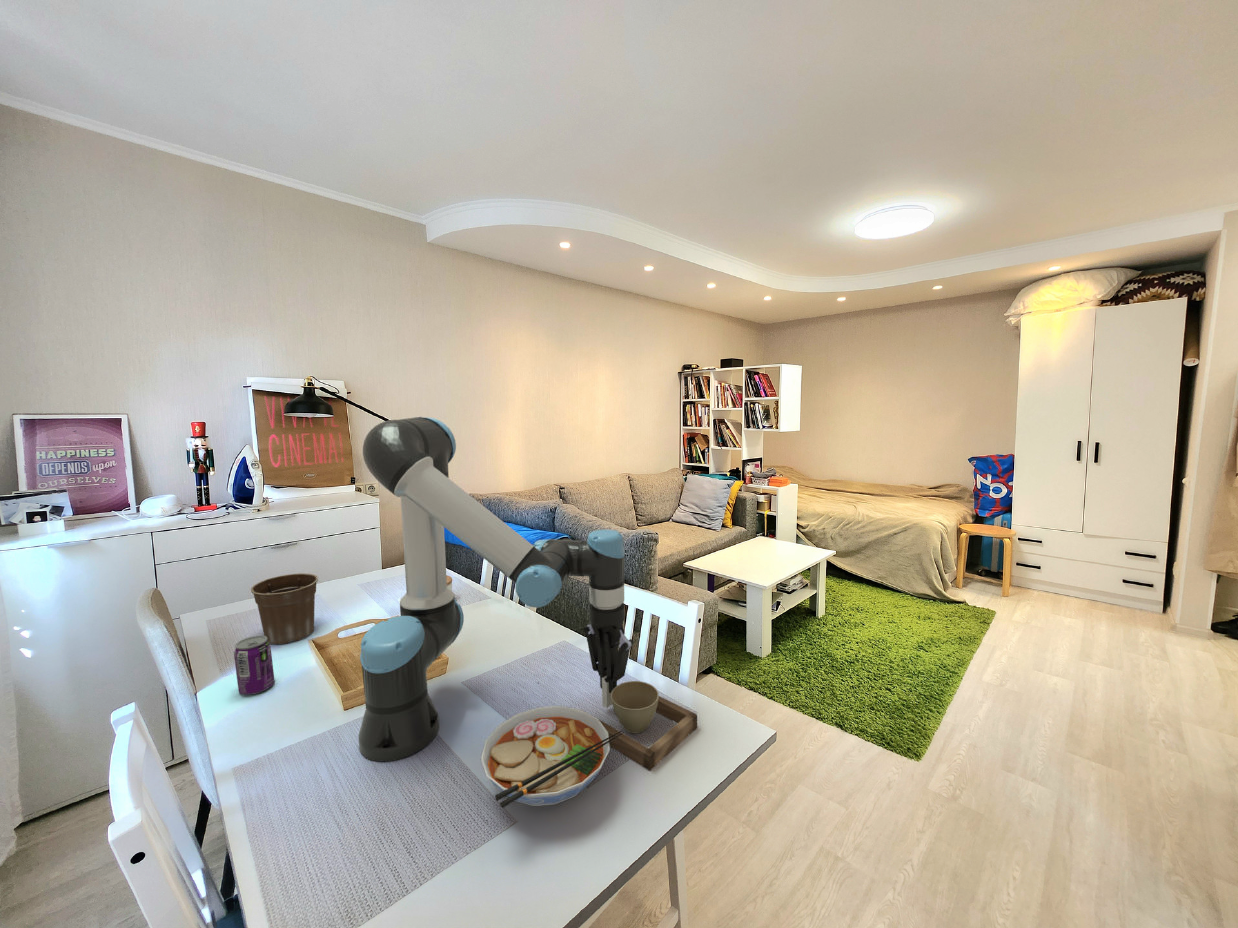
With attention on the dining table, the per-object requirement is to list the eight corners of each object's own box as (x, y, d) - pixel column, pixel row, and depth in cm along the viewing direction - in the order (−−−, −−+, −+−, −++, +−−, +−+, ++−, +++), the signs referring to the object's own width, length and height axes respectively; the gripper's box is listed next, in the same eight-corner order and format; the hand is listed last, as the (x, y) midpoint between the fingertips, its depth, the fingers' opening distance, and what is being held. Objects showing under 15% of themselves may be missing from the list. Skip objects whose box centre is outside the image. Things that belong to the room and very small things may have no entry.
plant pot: (333, 621, 156) (329, 572, 154) (303, 648, 140) (297, 593, 138) (280, 623, 156) (274, 573, 153) (243, 649, 140) (236, 594, 137)
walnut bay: (649, 770, 93) (649, 756, 93) (594, 736, 103) (593, 722, 102) (697, 727, 105) (697, 714, 105) (643, 700, 115) (643, 688, 114)
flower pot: (634, 704, 113) (634, 675, 112) (668, 725, 106) (668, 694, 105) (601, 725, 106) (600, 693, 105) (635, 749, 99) (634, 715, 98)
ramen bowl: (571, 721, 108) (570, 686, 106) (641, 785, 90) (641, 743, 89) (456, 777, 92) (454, 737, 91) (514, 868, 74) (512, 819, 73)
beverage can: (278, 687, 121) (273, 641, 120) (242, 700, 116) (236, 652, 114) (270, 676, 126) (265, 631, 124) (235, 688, 121) (229, 642, 119)
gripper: (641, 605, 106) (642, 707, 109) (597, 589, 115) (599, 685, 118) (618, 617, 100) (619, 724, 104) (573, 600, 109) (576, 700, 112)
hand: (608, 703), depth 111 cm, fingers closed
